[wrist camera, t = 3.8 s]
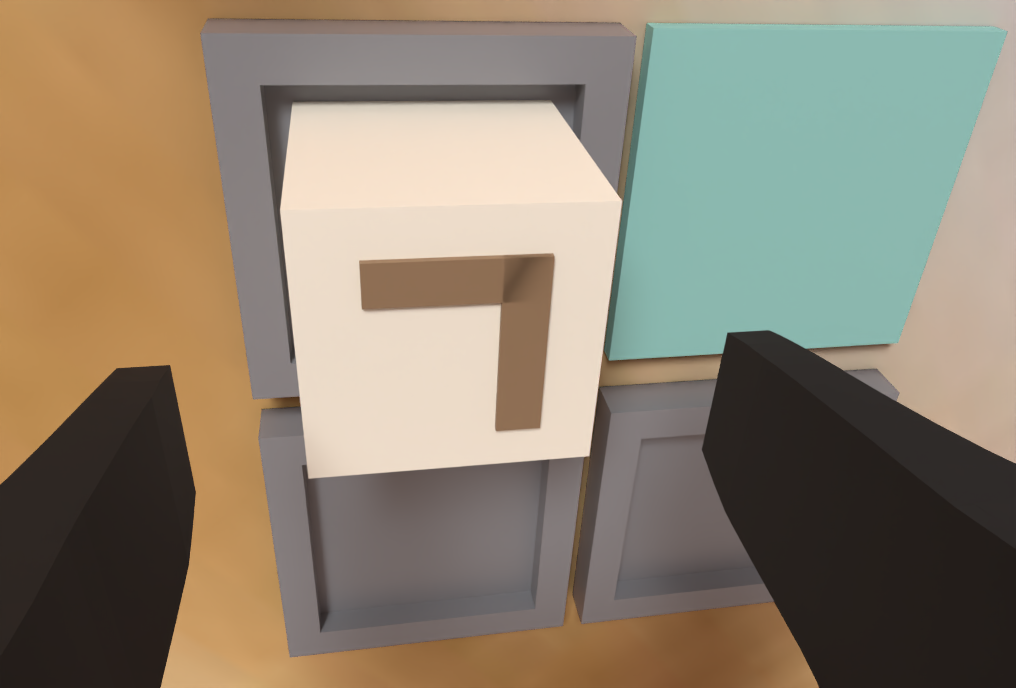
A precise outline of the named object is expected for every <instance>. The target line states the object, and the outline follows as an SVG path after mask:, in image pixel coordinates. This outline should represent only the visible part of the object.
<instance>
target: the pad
mask: <svg viewBox="0 0 1016 688" xmlns="http://www.w3.org/2000/svg"><path fill="white" fill-rule="evenodd" d="M1007 32H1008V31H1005V30H1002V29H999V28H997V27H990V26H892V25H794V24H696V23H647V24H646V32H645V40H644V48H643V55H642V63H641V71H640V78H639V86H638V94H637V101H636V109H635V117H634V124H633V132H632V140H631V148H630V155H629V163H628V171H627V178H626V186H625V194H624V201H623V209H622V217H621V225H620V232H619V240H618V248H617V255H616V263H615V271H614V278H613V286H612V294H611V301H610V309H609V317H608V325H607V332H606V340H605V348H604V351H605V353H606V355H607V357H608V359H609V360H625V359H642V358H658V357H675V356H692V355H708V354H723V350H724V346H725V341H726V336H727V333H729V332H746V331H763V330H770V331H772V332H774V333H777V334H779V335H781V336H783V337H785V338H787V339H789V340H791V341H793V342H794V343H796V344H798V345H800V346H802V347H804V348H805V349H807V348H824V347H840V346H857V345H873V344H890V343H898V341H899V338H900V336H901V333H902V330H903V327H904V324H905V321H906V319H907V316H908V313H909V310H910V307H911V304H912V302H913V299H914V296H915V293H916V290H917V287H918V285H919V282H920V279H921V276H922V273H923V270H924V267H925V265H926V262H927V259H928V256H929V253H930V250H931V248H932V245H933V242H934V239H935V236H936V233H937V231H938V228H939V225H940V222H941V219H942V216H943V214H944V211H945V208H946V205H947V202H948V199H949V197H950V194H951V191H952V188H953V185H954V182H955V179H956V177H957V174H958V171H959V168H960V165H961V162H962V160H963V157H964V154H965V151H966V148H967V145H968V143H969V140H970V137H971V134H972V131H973V128H974V126H975V123H976V120H977V117H978V114H979V111H980V108H981V106H982V103H983V100H984V97H985V94H986V91H987V89H988V86H989V83H990V80H991V77H992V74H993V72H994V69H995V66H996V63H997V60H998V57H999V55H1000V52H1001V49H1002V46H1003V43H1004V40H1005V38H1006V35H1007Z"/></svg>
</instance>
